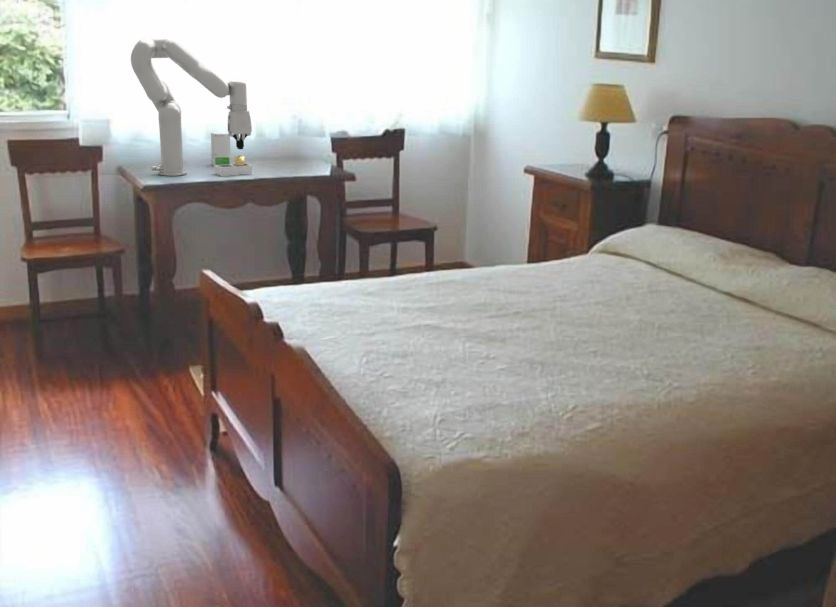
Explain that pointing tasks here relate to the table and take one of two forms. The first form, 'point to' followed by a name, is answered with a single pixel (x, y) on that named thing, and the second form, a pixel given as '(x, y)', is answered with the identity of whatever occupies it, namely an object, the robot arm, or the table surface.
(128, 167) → the table surface
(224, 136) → the skincare box
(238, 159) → the brass bushing
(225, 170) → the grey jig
